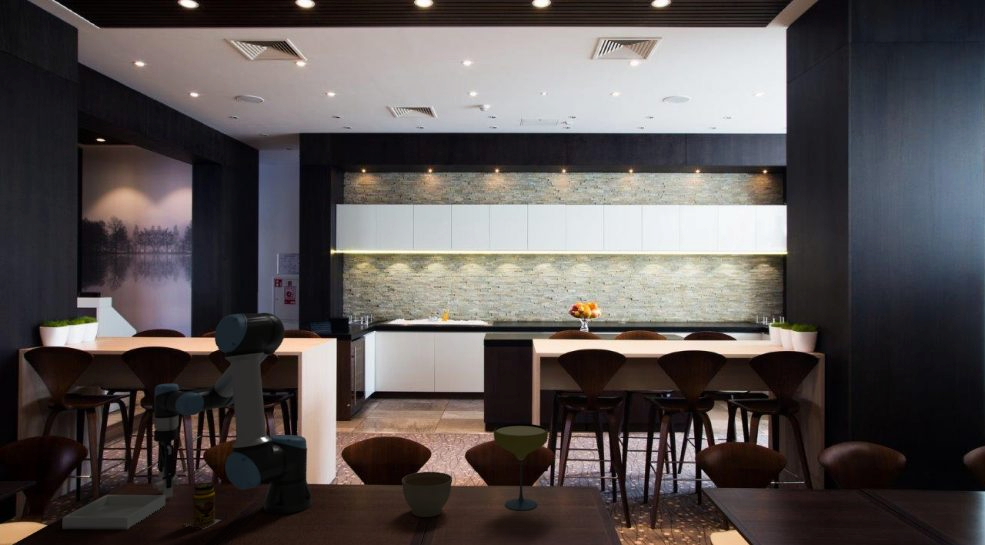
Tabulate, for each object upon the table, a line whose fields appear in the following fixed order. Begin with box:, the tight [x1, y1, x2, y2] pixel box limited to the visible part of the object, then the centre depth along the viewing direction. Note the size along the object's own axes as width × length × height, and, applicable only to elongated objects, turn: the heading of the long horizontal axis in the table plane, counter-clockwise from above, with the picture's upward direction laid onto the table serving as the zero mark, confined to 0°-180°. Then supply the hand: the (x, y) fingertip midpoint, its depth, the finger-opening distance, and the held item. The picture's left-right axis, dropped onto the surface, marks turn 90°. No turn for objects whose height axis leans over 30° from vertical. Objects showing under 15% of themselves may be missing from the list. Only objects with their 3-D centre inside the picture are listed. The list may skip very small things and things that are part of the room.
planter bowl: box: [401, 471, 453, 518], centre depth 195 cm, size 16×16×11 cm
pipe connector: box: [150, 467, 181, 495], centre depth 211 cm, size 10×10×10 cm
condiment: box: [185, 482, 222, 530], centre depth 186 cm, size 7×8×12 cm
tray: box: [61, 494, 166, 530], centre depth 192 cm, size 20×20×4 cm
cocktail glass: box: [493, 423, 549, 512], centre depth 201 cm, size 18×18×25 cm
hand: (165, 493), depth 211 cm, fingers closed on pipe connector, 9 cm apart
